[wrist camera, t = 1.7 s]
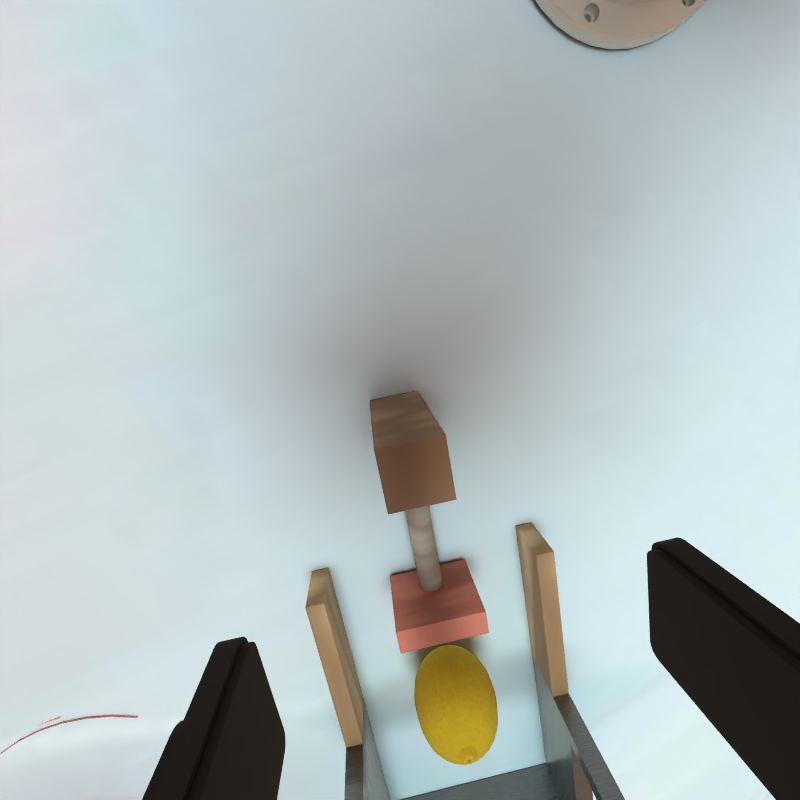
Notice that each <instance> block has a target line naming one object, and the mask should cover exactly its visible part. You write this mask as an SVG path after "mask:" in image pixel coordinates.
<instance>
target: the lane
mask: <svg viewBox="0 0 800 800" xmlns="http://www.w3.org/2000/svg"><path fill="white" fill-rule="evenodd" d="M516 532H517V539H518V547H519V555H520V563H521V571H522V578H523V586H524V594H525V602H526V609H527V617H528V625H529V633H530V641H531V648H532V656H533V658H534V660H535V662H536V664H537V666H538V668H539V670H540V672H541V674H542V676H543V678H544V680H545V682H546V684H547V687H548V689H549V691H550V693H551V695H552V697H555V696H560V695H564V694H568V683H567V674H566V664H565V654H564V645H563V635H562V625H561V616H560V606H559V597H558V587H557V577H556V568H555V558H554V551H553V550H552V548H551V547H550V546H549V545H548V543H547V542H546V541H545V539H544V538H543V537H542V536H541V534H540V533H539V532H538V530H537V529H536V528H535V526H534V525H533V524H532V523H527V524H523V525H518V526H516ZM306 611H307V615H308V618H309V621H310V625H311V628H312V632H313V635H314V638H315V642H316V645H317V649H318V652H319V656H320V659H321V662H322V666H323V669H324V673H325V676H326V680H327V683H328V686H329V690H330V693H331V697H332V700H333V704H334V707H335V710H336V714H337V717H338V721H339V724H340V728H341V731H342V734H343V738H344V741H345V745H346V747H350V746H354V745H359V744H363V695H362V691H361V688H360V684H359V680H358V676H357V673H356V669H355V665H354V661H353V658H352V654H351V650H350V647H349V643H348V639H347V635H346V632H345V628H344V624H343V620H342V617H341V613H340V609H339V605H338V602H337V598H336V594H335V590H334V587H333V583H332V579H331V575H330V572H329V568H325V569H320V570H316V571H312V574H311V580H310V585H309V591H308V597H307V602H306Z"/></svg>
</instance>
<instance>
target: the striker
mask: <svg viewBox="0 0 800 800" xmlns="http://www.w3.org/2000/svg"><path fill="white" fill-rule="evenodd" d="M370 410H371V421H372V431H373V442H374V451H375V456H376V460H377V465H378V470H379V474H380V479H381V483H382V488H383V493H384V497H385V502H386V507H387V511H388V514H392V513H396V512H401V511H405V515H406V519H407V524H408V529H409V534H410V539H411V544H412V549H413V554H414V559H415V564H416V568H417V570H416V571H411V572H407V573H402V574H398V575H393V576H390V581H391V590H392V600H393V609H394V618H395V628H396V634H397V639H398V643H399V648H400V652H401V653H405V652H409V651H413V650H417V649H422V648H426V647H430V646H434V645H439V644H443V643H447V642H452V641H456V640H460V639H464V638H469V637H473V636H477V635H481V634H486V633H489V630H488V624H487V617H486V611H485V609H484V606H483V604H482V601H481V599H480V596H479V594H478V592H477V589H476V587H475V584H474V582H473V579H472V577H471V574H470V572H469V569H468V567H467V564H466V562H465V560H460V561H456V562H451V563H447V564H442V565H440V564H439V559H438V553H437V548H436V543H435V537H434V532H433V527H432V521H431V516H430V511H429V505H433V504H438V503H442V502H447V501H451V500H456V494H455V488H454V482H453V476H452V470H451V464H450V458H449V452H448V446H447V440H446V435H445V433H444V431H443V430H442V428H441V427H440V425H439V424H438V422H437V420H436V419H435V417H434V416H433V414H432V413H431V411H430V409H429V408H428V406H427V405H426V403H425V402H424V400H423V398H422V397H421V395H420V394H419V392H418V391H415V392H410V393H406V394H401V395H396V396H391V397H386V398H381V399H376V400H371V401H370Z"/></svg>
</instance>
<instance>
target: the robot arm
mask: <svg viewBox="0 0 800 800" xmlns="http://www.w3.org/2000/svg"><path fill="white" fill-rule="evenodd" d="M705 1H706V0H536V2H537V4H538V5H539V7H540V8H541V9H542V10H543V11H544V13H545V14H546V15H547V16H548V17H549V18H550V19H551V21H552V22H553V23H554V24H555V25H556V26H558V27H559V28H561V29H562V30H563V31H565V32H566V33H567V34H569V35H570V36H571V37H573V38H575V39H577V40H580V41H582V42H584V43H586V44H589V45H591V46H596V47H601V48H607V49H627V48H634V47H637V46H641V45H644V44H648V43H651V42H653V41H655V40H657V39H659V38H660V37H662V36H664V35H666V34H668V33H670V32H671V31H672V30H674V29H675V28H676V27H677V26H679V25H680V24H681V23H682V22H684V21H685V20H686V19H687V18H688V17H690V16H691V15H692V14H693V13H694V12H695V11H696V10H697V9H698V8H699V7H700V6H701V5H702V4H703V3H704V2H705ZM647 570H648V596H649V622H650V642H651V647H652V649H653V652H654V654H655V655H656V657H657V658H658V660H659V661H660V662H661V664H662V665H663V666H664V667H665V668H666V669H667V671H668V672H669V673H670V674H671V675H672V677H673V678H674V679H675V680H676V681H677V683H678V684H679V685H680V686H681V687H682V688H683V690H684V691H685V692H686V693H687V694H688V696H689V697H690V698H691V699H692V700H693V702H694V703H695V704H696V705H697V706H698V708H699V709H700V710H701V711H702V712H703V713H704V715H705V716H706V717H707V718H708V719H709V721H710V722H711V723H712V724H713V725H714V727H715V728H716V729H717V730H718V731H719V732H720V734H721V735H722V736H723V737H724V738H725V740H726V741H727V742H728V743H729V744H730V746H731V747H732V748H733V749H734V750H735V751H736V753H737V754H738V755H739V756H740V757H741V759H742V760H743V761H744V762H745V763H746V765H747V766H748V767H749V768H750V769H751V771H752V772H753V773H754V774H755V775H756V776H757V778H758V779H759V780H760V781H761V782H762V784H763V785H764V786H765V787H766V788H767V790H768V791H769V792H770V793H771V794H772V795H773V797H774V798H775V799H776V800H800V623H798V622H797V621H795V620H794V619H793V618H791V617H790V616H789V615H787V614H786V613H784V612H783V611H782V610H780V609H779V608H778V607H776V606H775V605H773V604H772V603H771V602H769V601H768V600H767V599H765V598H764V597H762V596H761V595H760V594H758V593H757V592H755V591H754V590H753V589H751V588H750V587H749V586H747V585H746V584H744V583H743V582H742V581H740V580H739V579H738V578H736V577H735V576H733V575H732V574H731V573H729V572H728V571H727V570H725V569H724V568H722V567H721V566H720V565H718V564H717V563H715V562H714V561H713V560H711V559H710V558H709V557H707V556H706V555H704V554H703V553H702V552H700V551H699V550H698V549H696V548H695V547H693V546H692V545H691V544H689V543H688V542H687V541H685V540H683V539H681V538H673V539H669V540H665V541H660V542H656V543H654V544H653V545H652V550H651V551H648V553H647ZM284 753H285V732H284V728H283V725H282V722H281V719H280V716H279V713H278V710H277V707H276V704H275V701H274V698H273V695H272V692H271V689H270V686H269V683H268V680H267V677H266V674H265V670H264V667H263V664H262V661H261V658H260V655H259V652H258V649H257V646H256V644H255V643H254V642H249V643H248V641H247V639H246V638H245V637H239V638H235V639H231V640H226V641H222V642H218V643H217V644H216V646H215V647H214V649H213V652H212V654H211V657H210V659H209V661H208V664H207V666H206V668H205V671H204V673H203V676H202V678H201V680H200V683H199V685H198V687H197V690H196V692H195V694H194V697H193V699H192V702H191V704H190V706H189V709H188V711H187V713H186V716H185V718H184V720H183V721H180V722H179V723H178V724H177V725H176V726H175V728H174V730H173V731H172V733H171V735H170V737H169V739H168V742H167V744H166V746H165V749H164V751H163V753H162V755H161V758H160V760H159V762H158V765H157V767H156V769H155V771H154V774H153V776H152V778H151V781H150V783H149V785H148V787H147V790H146V792H145V794H144V797H143V799H142V800H277V795H278V789H279V783H280V777H281V771H282V765H283V759H284Z"/></svg>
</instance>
